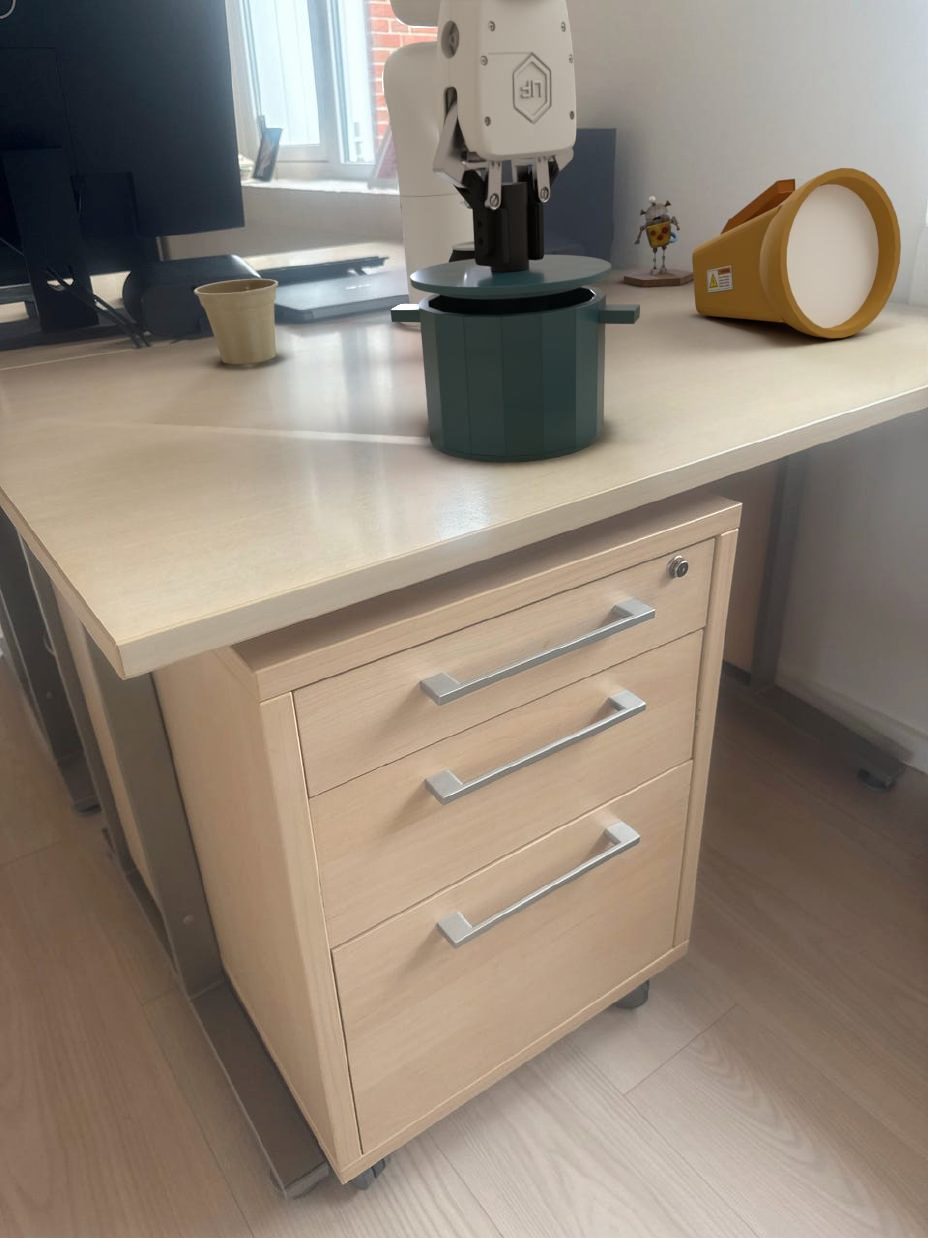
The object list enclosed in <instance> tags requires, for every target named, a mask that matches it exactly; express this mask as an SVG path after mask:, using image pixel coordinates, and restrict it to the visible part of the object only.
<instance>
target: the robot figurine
mask: <svg viewBox="0 0 928 1238" xmlns="http://www.w3.org/2000/svg"><path fill="white" fill-rule="evenodd" d="M648 202H649V204H650V205H649V206H648V207H647V208H646V211H645V210H644V209H642V208H640V211H639V217H641V216H642V215H644V216H645V217H644V220H643V224H641V225H640V226H639V230H638V231H639V232H638V234H637V237H636V239H634V240H633V245H640V243H641V238H642V234H643V231H644V233H645V237H646V240H647V242H648V245H649V247H650V248H651V249H652V252H653V255H654V256H653V259H652V262H653V268H652V269H642V270H640V269H639V270H636V271H633V272H630V273H628V274H625V275H623V283H624V284H629V285H633V286H638V287H643V288H646V287H666V286H669V287H670V286H681V285H683V284H686V283H688V282H691V281H694V278H693V271H689V270H683V269H677V268H666V265H665V260H666V256H665V251H666V250H667V247H668V246H669V245H670V244H675V243H676V242H678V240H679V238H678V235H677V234H676V233H675V232H674V231H672V225H674V226H675V227H676V231H677V232H678V231H680V230H681V227H680V226H679V225H680V224H679V222H678V219H677V217H676V216H675V215H672V216H670V215H668V213H669V211H668V208H667V207H669V206H672V204H671V202H670V201H669V200H668V199H666V201H665V204H663V203H662V202H656V197H655V196H654V195H652V196H649V198H648ZM671 238H672V239H671ZM658 248H661V250H662V255H661V260H662V261H661V263H662V264H661V267H660V268H657V263H656V262H657V258H656V254H657V252H658V250H659V249H658Z"/></svg>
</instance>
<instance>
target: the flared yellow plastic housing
mask: <svg viewBox="0 0 928 1238" xmlns="http://www.w3.org/2000/svg"><path fill="white" fill-rule="evenodd" d="M897 215H898V214H897V213H896V210H895V207H894V205H893V201H892V200H891V198H890V197H889V195H888V193H887V192H886V190H885V188H884V187H883V186H882V185H881V184H880V183H879V181H877V179H875V178H874V177H872V176H871V175H869V174H868V173H866V172H865V171H861V170H859V169H856V168H851V167H850V168H849V167H839V168H835V169H831V170H828V171H825V172H823V173H821V174H818V175H816V176H815V177H813V178H811V179H809V180H807V181H806V182H805V183H803V184H802V185H800V186H799V187H798V188H797V189H796V178H789V179H779V180H776V181H775V182H774V183H772V184H771V185H770V186H769V187H768V188H766V189H765V190H764V191H762V193H760V194H759V195H758V196H756V198H754V199H753V200H752V201H750V202H749V203H748V204H747V205H745V207H743V208H742V209H741V210H739V212H737V213H735V214H734V215H733V216H732V217H730V218H728V220H727V221H726V223H725V225H724V227H723V229H722V230H721V232H720V233H719V235H717V236H715V237H713V238H711V239H708V240H706V241H705V242H703V243H701V244H699V245H697V246H696V247H695V248H694V249H693V251H692V256H691V263H692V272H693V278H694V279H693V291H694V293H693V294H694V304H695V305H694V306H695V310H696V312H697V313H698V314H699V315H701V316H707V317H719V318H731V319H740V320H742V319H743V320H751V321H752V320H753V321H761V322H762V321H764V322H774V323H785V324H787V325H789V326H790V327H792V328H793V329H794V330H796V331H798V332H801V333H803V334H806V335H808V336H811V337H816V338H822V339H823V338H824V339H843V338H847V337H850V336H853V335H856V334H857V333H859V332H861V331H863V330H865V329H866V328H867V327H868V326H869V325H870V324H872V322H874V321H875V319H877V317H878V316H879V315H880V313H881V312H882V311H883V309H884V308H885V306H886V304H887V303H888V301H889V299H890V297H891V296H892V295H891V294H892V293H893V290H894V287H895V284H896V281H897V279H898V273H899V268H900V264H901V254H902V253H901V251H902V242H901V230H900V224H899V220H898V216H897Z"/></svg>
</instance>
